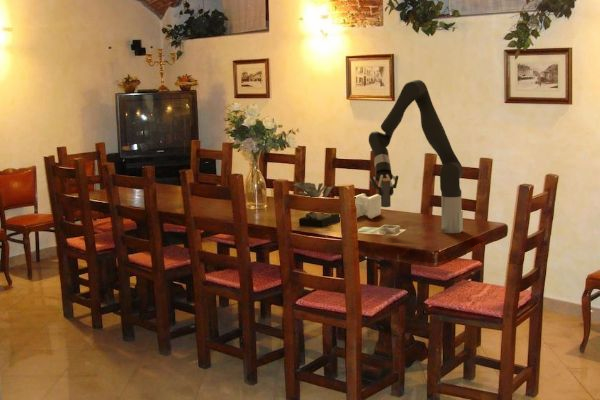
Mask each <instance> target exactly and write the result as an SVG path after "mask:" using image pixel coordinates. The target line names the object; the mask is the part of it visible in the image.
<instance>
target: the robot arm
mask: <svg viewBox="0 0 600 400" xmlns="http://www.w3.org/2000/svg"><path fill="white" fill-rule="evenodd" d="M413 102H414V103H416V106H417V107H418V110H419V115H420V123H421V124H420V125H421V130H422V132H423V134H424V136H425V138H426V140H427V143H428V144H429V145H430V146H431V148H432V149H433V150H434V152H435V153H436V154H437V156H438V158H439V159H440V162H441V164H442V166H441V167H440V170H439V188H440V192H441V233H445V234H461V232H463V227H464V225H463V224H464V222H463V219H464V216H463V215H464V214H463V212H464V211H463V210H462V189H461V187H460V183H461V182H460V179H461V178H462V176H463V173H464V169H463V166H462V164H461V162H460V161H459V159H458V157H457V156H456V153H455V152H454V150H453V148H452V145H451V143H450V139H449V137H448V136H447V134H446V130H445V129H444V126H443V124H442V122H441V119H440V118H439V115H438V113H437V111H436V109H435V106H434V104H433V101H432V99H431V96H430V93H429V90H428V88H427V85H426V83H425V82H424V81H422V80H420V79H414V80H410V81H408V82H406V83H405V84H404V86H403V87H402V89H401V91H400V93H399V95H398V98H397V99H396V101H395V103H394V105H393V107H392V109H391V110H390V111H389V113H388V114H387V116H386V117H385V118H384V119H383V121H382V123H381V125H380V129H381V131H383V132H380V131H377V130H374V131H372V132H371V131H370V133H369V136H368V144H369V146H370V148H371V151H372V153H373V158H374V172H375V176H373V175H372V176H370V178H369V181H370V183H371V185H372V187H373V189H374V190H376V189H377V194H379V195H380V196H382V190H381V181H383V178H388V181H390V197H391V196H393V195H394V189H396V188H397V185H398V181H399V175H396V176H395V175H393V173H392V167H391V160H390V157H389V156H390V155H389V151H388V148H387V147H389V145H390V143H391V140H392V138H393V135H394V132H395V131H396V129H397V128H398V126H400V123H401V122H402V120H403V118H404V115H405V112H406V110H407V109H408V108H409V106H410V105H411V104H412V103H413ZM392 180H393V181H394V183H393V181H392ZM376 181H377V182H378V184H377V182H376Z"/></svg>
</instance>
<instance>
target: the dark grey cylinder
mask: <svg viewBox="0 0 600 400" xmlns="http://www.w3.org/2000/svg"><path fill="white" fill-rule="evenodd" d="M381 190H382V196H381V208H390V207H391V203H392V202H391V195H390V181H388V178H383V181H381Z"/></svg>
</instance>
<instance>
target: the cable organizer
mask: <svg viewBox="0 0 600 400" xmlns="http://www.w3.org/2000/svg"><path fill="white" fill-rule="evenodd" d="M354 197H356V199H355V201H356V208H357V218H356V219H358V218H360V217H362V216H364V215H365V217H366V216H367V218H368V219H370V220H372V219H373V218H376V217H378V216H380V214H381V213H382V207H381V196H380V195H379V194H378V193H376V194H374V195H371V196H367V194H366V193H361V194H357V195H355V196H354Z"/></svg>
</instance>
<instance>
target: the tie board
mask: <svg viewBox="0 0 600 400" xmlns="http://www.w3.org/2000/svg"><path fill="white" fill-rule="evenodd" d="M357 230H358V233H357V234H364V235H365V234H368V235H383V236H395V237H396V236H398V235H399V236H400V234H401V233H403V232H405V231H407V229H406V228H405V229H403V228H401V226H400V225H397V224H396V225H394V224H383V225H381V226H380V227H373V226H371V227H370V226H362V227H360V228H359V229H357Z"/></svg>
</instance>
